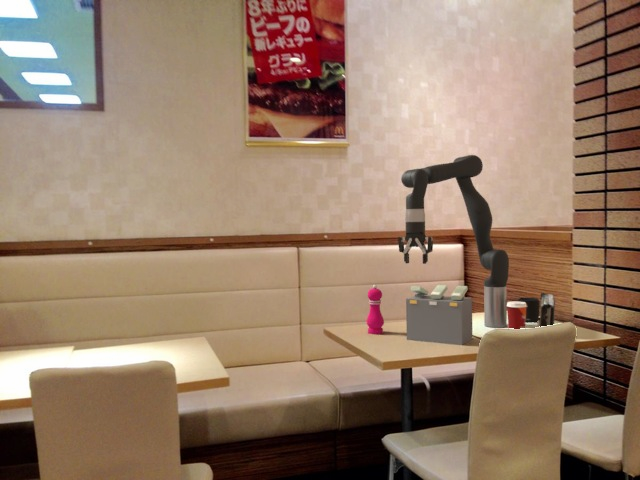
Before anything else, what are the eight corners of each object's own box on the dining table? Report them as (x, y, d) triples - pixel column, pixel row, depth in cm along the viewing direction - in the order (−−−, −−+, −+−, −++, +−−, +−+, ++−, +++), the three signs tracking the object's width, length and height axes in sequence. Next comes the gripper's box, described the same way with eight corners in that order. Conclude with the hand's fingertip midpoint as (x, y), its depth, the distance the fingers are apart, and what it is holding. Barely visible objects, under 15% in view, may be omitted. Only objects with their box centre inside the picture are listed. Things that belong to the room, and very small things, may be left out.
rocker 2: (438, 288, 229) (437, 284, 229) (447, 288, 227) (447, 284, 227) (430, 298, 222) (430, 294, 221) (440, 298, 220) (439, 294, 219)
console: (419, 333, 236) (418, 292, 236) (472, 338, 225) (472, 294, 224) (406, 339, 225) (405, 296, 224) (461, 345, 214) (461, 299, 213)
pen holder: (512, 320, 262) (512, 298, 262) (528, 318, 266) (528, 297, 266) (528, 323, 254) (528, 301, 253) (544, 321, 258) (544, 299, 257)
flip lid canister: (528, 340, 219) (528, 304, 219) (507, 340, 221) (507, 303, 220) (525, 336, 227) (525, 301, 226) (505, 336, 228) (505, 300, 228)
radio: (553, 339, 221) (553, 300, 221) (529, 337, 226) (529, 299, 225) (560, 328, 242) (560, 293, 241) (538, 327, 246) (538, 292, 245)
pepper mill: (386, 331, 242) (385, 284, 241) (380, 334, 235) (380, 286, 235) (370, 330, 245) (369, 283, 244) (364, 333, 238) (363, 285, 238)
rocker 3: (458, 289, 225) (457, 285, 224) (467, 289, 223) (467, 285, 222) (450, 299, 218) (450, 295, 217) (460, 300, 216) (460, 295, 215)
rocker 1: (419, 294, 233) (419, 290, 233) (427, 295, 231) (428, 290, 231) (410, 290, 226) (411, 285, 226) (419, 290, 224) (420, 286, 224)
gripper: (436, 220, 224) (436, 263, 225) (402, 220, 232) (402, 262, 232) (429, 220, 218) (429, 264, 218) (394, 221, 225) (394, 263, 226)
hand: (415, 263), depth 225 cm, fingers open, 6 cm apart
